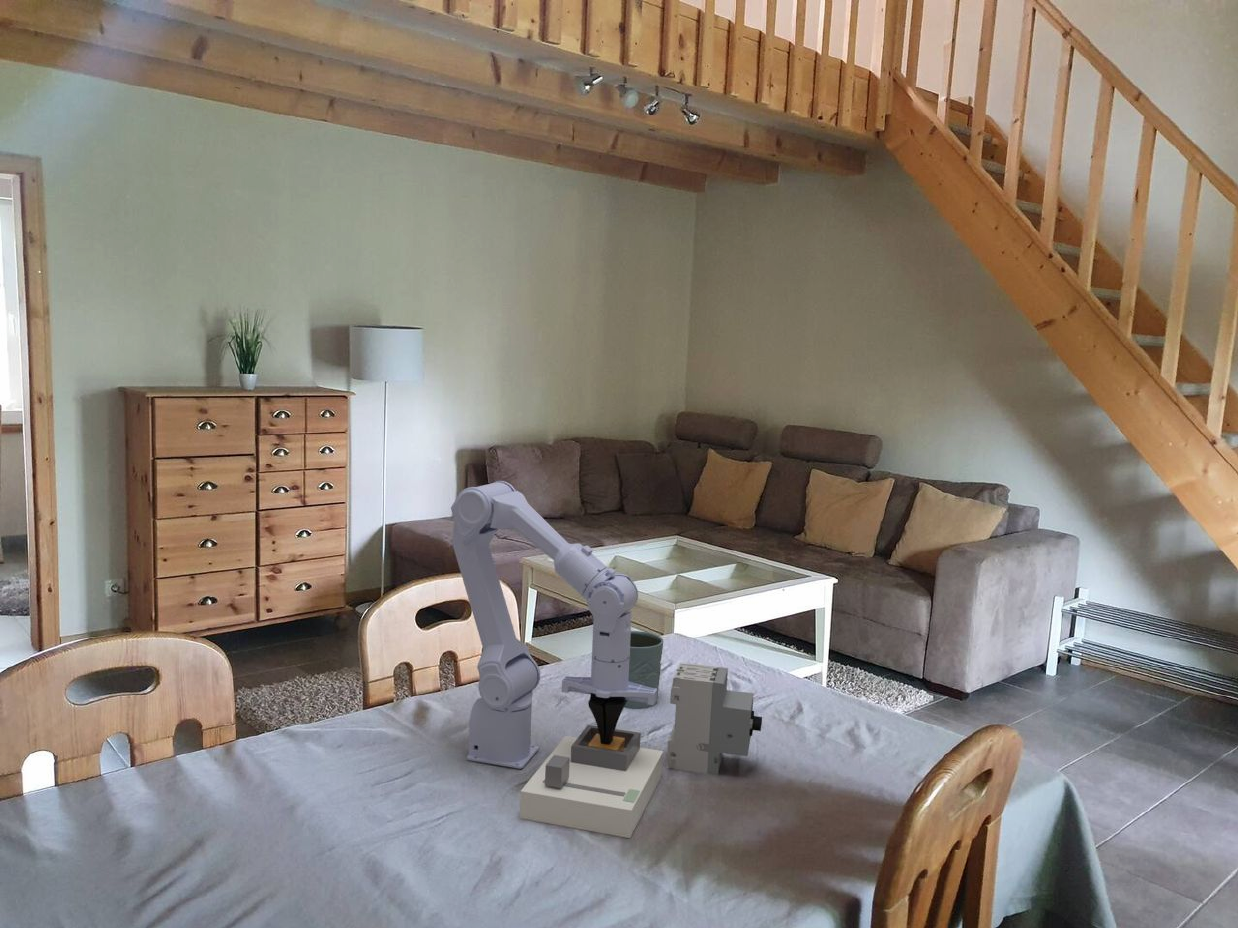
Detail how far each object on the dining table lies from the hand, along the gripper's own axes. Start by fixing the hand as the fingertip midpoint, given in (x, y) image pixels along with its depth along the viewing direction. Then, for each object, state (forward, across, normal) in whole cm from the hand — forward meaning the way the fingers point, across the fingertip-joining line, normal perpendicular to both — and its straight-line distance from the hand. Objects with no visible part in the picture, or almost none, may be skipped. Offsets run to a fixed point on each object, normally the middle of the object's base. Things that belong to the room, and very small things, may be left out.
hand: (606, 742), depth 146 cm
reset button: (+2, 0, 0) cm, 2 cm away
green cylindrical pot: (+6, -4, +34) cm, 34 cm away
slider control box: (+6, 0, -6) cm, 8 cm away
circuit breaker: (+6, +15, +12) cm, 20 cm away
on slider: (+2, -4, -12) cm, 12 cm away
